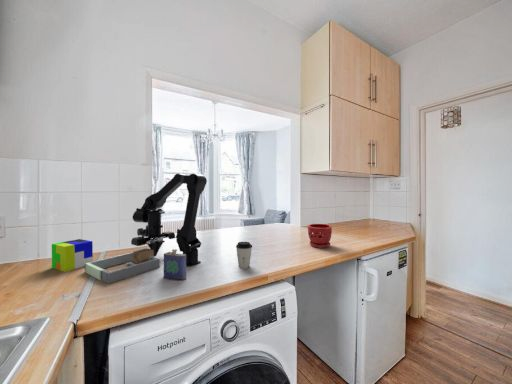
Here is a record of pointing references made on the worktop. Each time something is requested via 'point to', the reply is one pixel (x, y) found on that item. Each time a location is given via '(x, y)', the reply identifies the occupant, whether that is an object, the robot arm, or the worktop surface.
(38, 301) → the worktop surface
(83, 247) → the puzzle toy
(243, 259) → the coffee cup
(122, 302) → the worktop surface
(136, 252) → the walnut block
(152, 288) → the worktop surface
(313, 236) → the plant pot
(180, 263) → the flask
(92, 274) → the box
